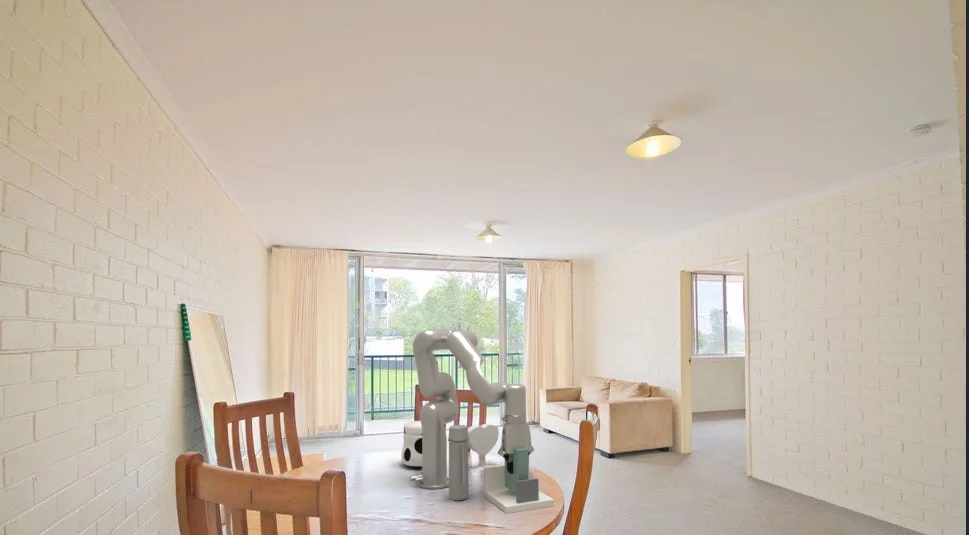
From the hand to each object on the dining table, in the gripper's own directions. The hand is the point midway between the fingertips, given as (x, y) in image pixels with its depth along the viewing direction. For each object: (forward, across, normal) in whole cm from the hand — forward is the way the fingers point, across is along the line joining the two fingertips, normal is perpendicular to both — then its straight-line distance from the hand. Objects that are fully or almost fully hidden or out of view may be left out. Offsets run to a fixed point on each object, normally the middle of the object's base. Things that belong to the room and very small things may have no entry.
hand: (516, 471), depth 188 cm
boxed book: (+6, 0, 0) cm, 6 cm away
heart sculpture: (+10, +5, +44) cm, 45 cm away
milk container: (+10, -18, +59) cm, 62 cm away
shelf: (+10, 0, -1) cm, 10 cm away
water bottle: (+10, -18, +10) cm, 23 cm away
